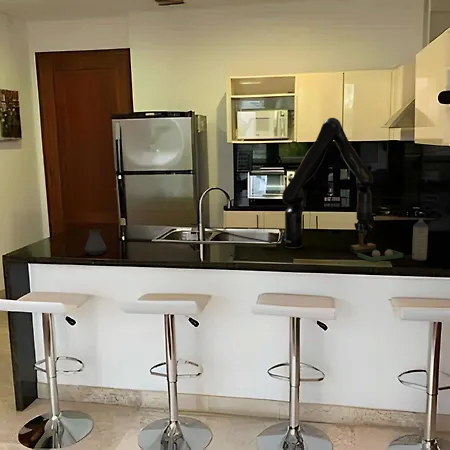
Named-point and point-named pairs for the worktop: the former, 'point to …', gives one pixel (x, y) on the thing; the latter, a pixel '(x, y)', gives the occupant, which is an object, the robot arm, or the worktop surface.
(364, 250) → the brown t-shaped block
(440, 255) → the worktop surface
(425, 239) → the aerosol can
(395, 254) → the corral
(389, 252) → the paper ball
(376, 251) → the paper ball
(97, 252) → the coffee pot
